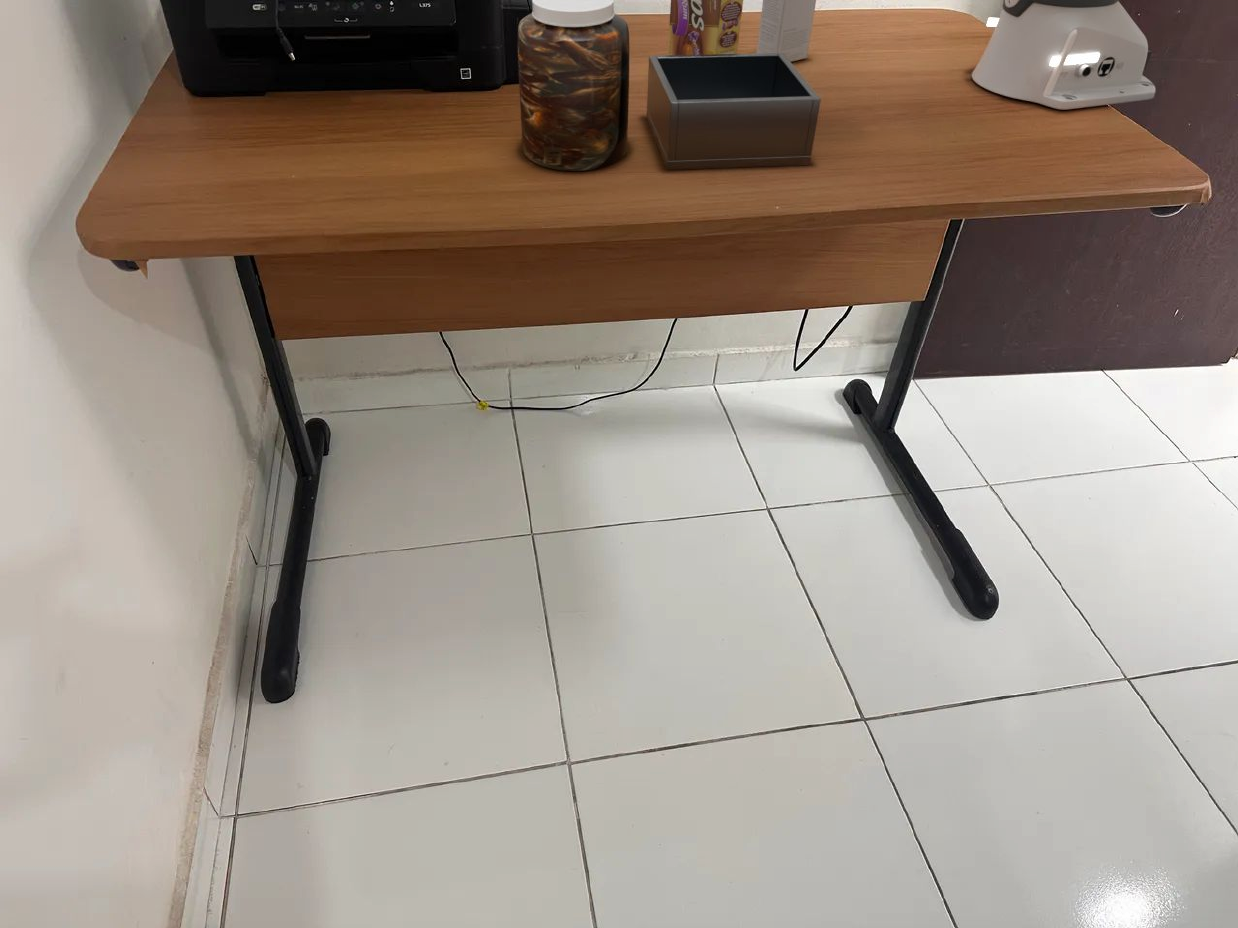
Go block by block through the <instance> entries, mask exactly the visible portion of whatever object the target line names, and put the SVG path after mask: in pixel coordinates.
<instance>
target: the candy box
mask: <svg viewBox="0 0 1238 928" xmlns="http://www.w3.org/2000/svg"><path fill="white" fill-rule="evenodd" d="M743 5H744V0H670V7H669V12H670V13H669V23H668V24H669V27H668V44H667V55H709V54H738V49H739V42H740V32H741V23H742V15H743Z"/></svg>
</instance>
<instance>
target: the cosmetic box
mask: <svg viewBox="0 0 1238 928" xmlns="http://www.w3.org/2000/svg"><path fill="white" fill-rule="evenodd" d="M816 4H817V0H762V5H761V14H760V20H759V28H758V29H759V30H758V36H757V47H756V53H783V54H784V55H785V56H786V57H787V58H788V60H789V61H790V62H791V63H792V62H795V61H799V60H803V59H807V58H808V53H809V47H810V42H811V35H812V28H813V21H814V17H815V9H816Z"/></svg>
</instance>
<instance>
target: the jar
mask: <svg viewBox="0 0 1238 928" xmlns="http://www.w3.org/2000/svg"><path fill="white" fill-rule="evenodd" d="M531 7H532V8H531V9H532V11H531V13H529V14H527V15H526V16H525V17H523V18H522V19H521V20H520V21H519V24H518V27H517V67H518V87H519V90H518V91H519V106H520V107H519V108H520V109H519V110H520V124H521V125H520V127H521V141H522V150H523V154H524V155H525V157H526V158H527V159H528V160H529V161H531V162H533V163H534V164H536V165H539V166H541V167H545V168H547V169H548V168H549V169H551V170H552V169H553V170H557V171H568V172H569V171H571V172H572V171H574V172H575V171H577V172H579V171H590V170H596V169H601V168H605V167H607V166H610V165H613V164H614V163H617V162H618V161H620V160H621V159H623V157H624V156H625V155H626V153H627V151H628V150H627V149H628V136H629V135H628V133H629V102H630V101H629V99H630V98H629V97H630V47H631V46H630V29H629V24H628V22H627V20H626V19H625V18H623V17H622V16H620V15H618V14H617V13H615V0H531Z"/></svg>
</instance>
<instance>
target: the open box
mask: <svg viewBox="0 0 1238 928" xmlns="http://www.w3.org/2000/svg"><path fill="white" fill-rule="evenodd" d="M821 102H822V99H821V97H820V96H819V95H818V93H817V92H816V91H815V90H814V88H813V87H812V86H811V85H810V83H809V82H808V81H807V80H806V79H805V77H803V75H802V74H801V73H800V72H799V70H798V69H797V67H795V65H794V64H793V63H792V62H790V61H789V60H788V58H787V57H786V56H785V55H784V54H783V53H757V52H756V53H737V54H709V55H668V54H667V55H665V54H664V55H648V73H647V97H646V120H647V124H648V125H649V128H650V130H651V133H652V135H653V138H654V140H655V143H656V146H657V147H658V150H659V152H660V155H661V157H662V160H663V162H664V165H665V167H666V170H667V171H677V170H678V171H679V170H704V169H705V170H707V169H708V170H709V169H730V168H731V169H732V168H733V169H734V168H760V167H761V168H763V167H787V166H809V165H810V164H811V159H812V154H813V147H814V141H815V136H816V130H817V124H818V123H817V122H818V119H819V113H820V106H821ZM810 166H811V165H810Z"/></svg>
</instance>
